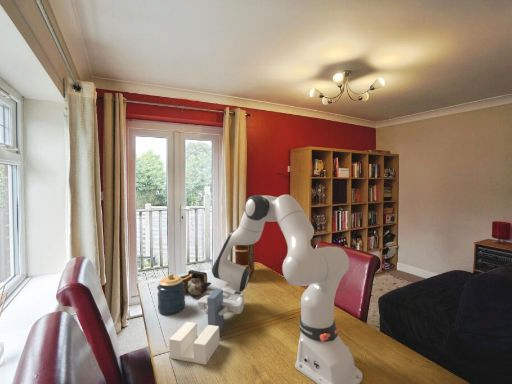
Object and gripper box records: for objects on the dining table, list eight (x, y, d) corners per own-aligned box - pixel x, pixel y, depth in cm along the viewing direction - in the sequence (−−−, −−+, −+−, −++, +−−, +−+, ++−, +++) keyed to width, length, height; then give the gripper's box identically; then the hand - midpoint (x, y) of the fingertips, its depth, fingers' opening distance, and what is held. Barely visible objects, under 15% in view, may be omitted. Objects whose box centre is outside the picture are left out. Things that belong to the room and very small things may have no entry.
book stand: (219, 343, 104) (219, 326, 104) (205, 364, 93) (205, 344, 92) (187, 338, 108) (186, 321, 108) (170, 358, 97) (169, 339, 96)
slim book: (223, 325, 117) (222, 289, 116) (215, 337, 109) (214, 298, 108) (217, 324, 118) (216, 288, 117) (208, 336, 109) (207, 297, 109)
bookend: (190, 269, 165) (220, 273, 150) (192, 287, 164) (222, 292, 150) (170, 276, 153) (200, 280, 138) (172, 295, 152) (202, 302, 138)
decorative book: (247, 283, 164) (246, 234, 162) (234, 282, 165) (233, 234, 164) (254, 270, 186) (253, 227, 184) (243, 270, 187) (242, 227, 186)
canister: (157, 305, 137) (156, 271, 136) (184, 301, 142) (182, 268, 141) (158, 317, 125) (156, 280, 124) (186, 312, 130) (185, 276, 129)
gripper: (205, 289, 127) (190, 303, 113) (246, 293, 121) (236, 308, 108) (205, 302, 127) (190, 317, 114) (247, 307, 121) (236, 323, 108)
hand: (213, 313), depth 111 cm, fingers open, 4 cm apart
